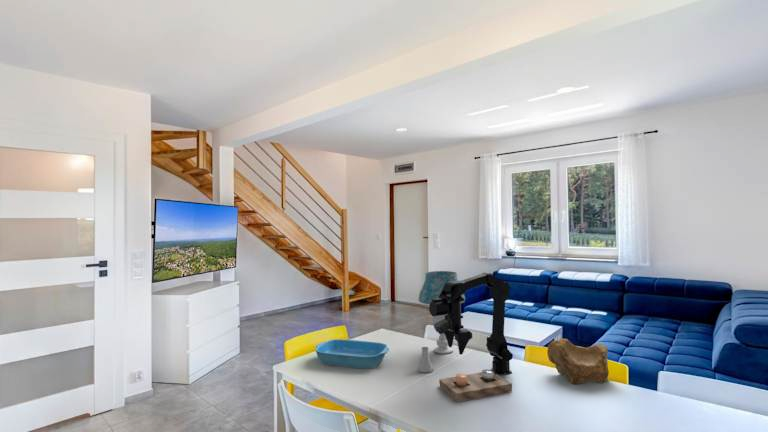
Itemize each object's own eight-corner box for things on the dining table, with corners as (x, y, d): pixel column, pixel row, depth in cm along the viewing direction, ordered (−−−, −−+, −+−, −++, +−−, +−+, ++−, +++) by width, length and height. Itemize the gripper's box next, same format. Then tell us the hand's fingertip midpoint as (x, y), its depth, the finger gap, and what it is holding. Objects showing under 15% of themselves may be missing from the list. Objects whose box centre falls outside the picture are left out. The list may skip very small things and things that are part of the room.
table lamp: (410, 351, 196) (408, 273, 197) (439, 340, 212) (437, 269, 213) (447, 362, 178) (445, 277, 179) (476, 350, 195) (473, 272, 196)
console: (491, 377, 160) (490, 370, 160) (512, 391, 147) (511, 383, 147) (439, 386, 153) (439, 379, 153) (456, 401, 139) (456, 393, 139)
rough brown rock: (549, 386, 152) (550, 350, 151) (546, 368, 168) (546, 335, 167) (616, 395, 145) (617, 357, 144) (606, 375, 160) (607, 340, 159)
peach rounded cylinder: (463, 381, 151) (463, 373, 151) (469, 385, 147) (469, 377, 147) (453, 382, 149) (453, 374, 149) (459, 387, 145) (459, 378, 145)
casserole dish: (394, 356, 190) (394, 342, 190) (381, 373, 168) (380, 357, 168) (327, 350, 201) (327, 337, 201) (306, 366, 179) (306, 350, 179)
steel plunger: (489, 376, 154) (489, 368, 155) (496, 380, 150) (495, 372, 150) (480, 378, 153) (480, 370, 153) (486, 382, 149) (486, 374, 149)
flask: (433, 373, 166) (432, 350, 166) (416, 372, 168) (415, 350, 168) (434, 367, 173) (433, 345, 173) (418, 366, 175) (417, 344, 175)
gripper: (426, 310, 163) (428, 346, 163) (446, 320, 145) (448, 361, 145) (450, 307, 166) (451, 343, 166) (472, 317, 149) (474, 357, 148)
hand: (455, 350), depth 156 cm, fingers open, 9 cm apart
